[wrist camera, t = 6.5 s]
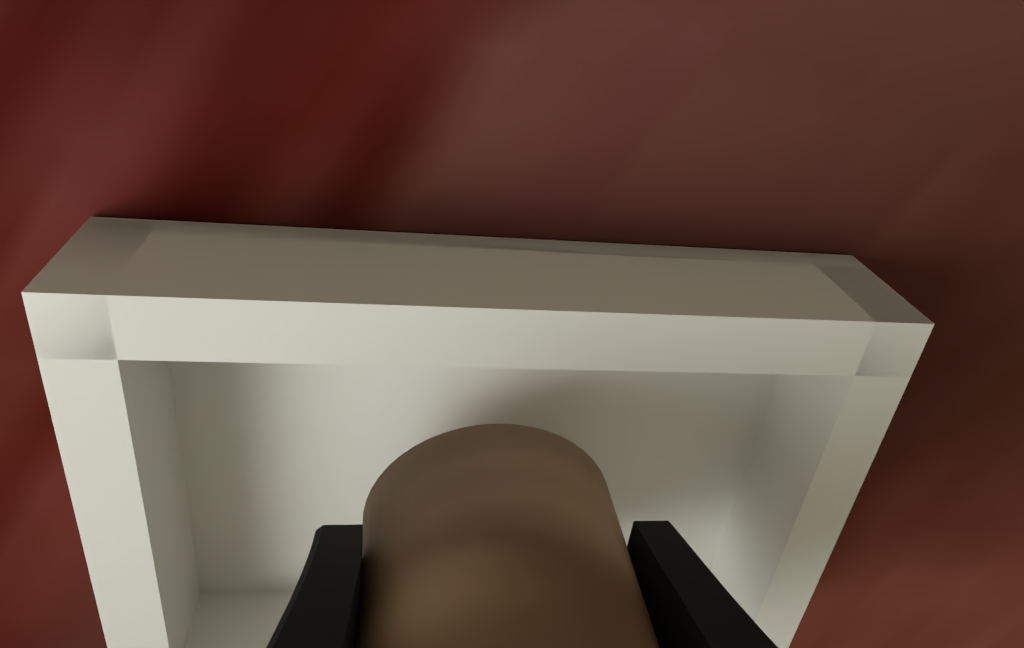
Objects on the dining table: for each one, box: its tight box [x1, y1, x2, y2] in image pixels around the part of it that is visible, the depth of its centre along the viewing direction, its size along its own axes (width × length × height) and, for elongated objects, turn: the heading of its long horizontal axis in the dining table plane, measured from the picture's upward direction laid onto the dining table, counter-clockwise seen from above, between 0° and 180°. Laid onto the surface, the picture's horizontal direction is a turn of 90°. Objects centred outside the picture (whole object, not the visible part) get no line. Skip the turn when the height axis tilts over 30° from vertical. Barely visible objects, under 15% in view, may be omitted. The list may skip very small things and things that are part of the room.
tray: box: [21, 217, 934, 648], centre depth 14 cm, size 13×9×2 cm
